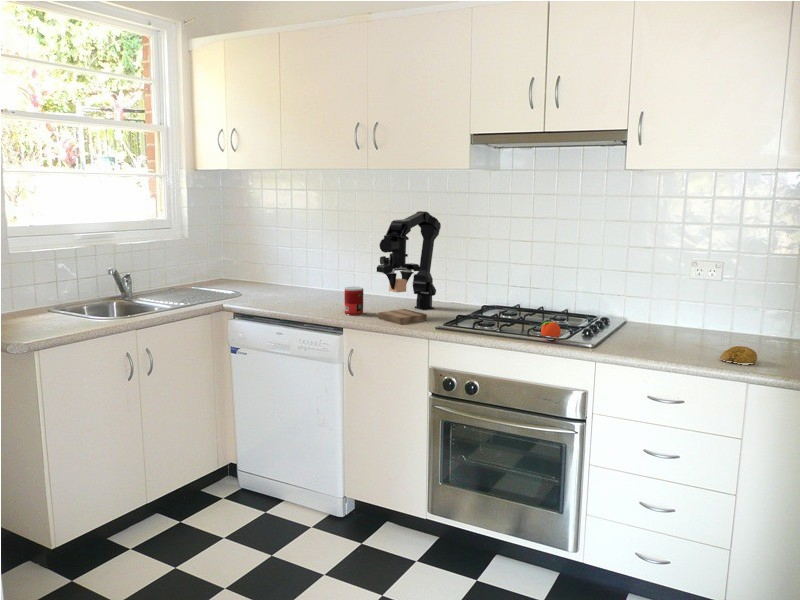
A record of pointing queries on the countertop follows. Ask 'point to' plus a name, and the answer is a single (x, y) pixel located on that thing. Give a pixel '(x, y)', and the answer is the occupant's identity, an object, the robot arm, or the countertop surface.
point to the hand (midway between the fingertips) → (397, 288)
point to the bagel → (739, 355)
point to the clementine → (550, 329)
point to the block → (399, 285)
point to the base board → (402, 316)
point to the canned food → (353, 300)
